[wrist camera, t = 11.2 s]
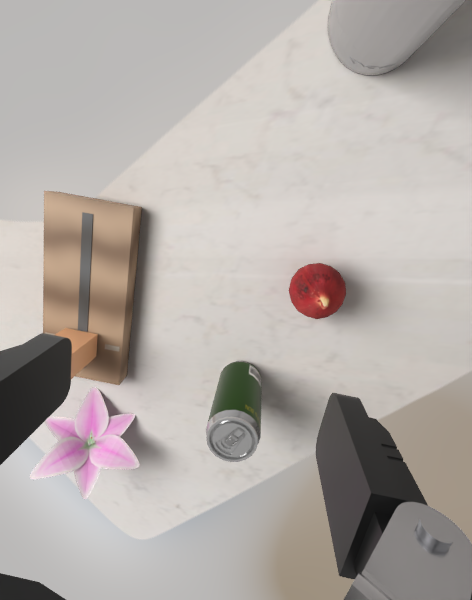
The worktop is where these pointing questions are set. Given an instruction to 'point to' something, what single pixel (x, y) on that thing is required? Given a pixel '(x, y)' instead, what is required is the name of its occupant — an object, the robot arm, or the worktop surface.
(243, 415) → the green soda can
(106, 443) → the lily
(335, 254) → the worktop surface
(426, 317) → the worktop surface
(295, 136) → the worktop surface
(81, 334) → the fader knob
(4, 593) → the robot arm
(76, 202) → the fader base
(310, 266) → the onion
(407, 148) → the worktop surface
